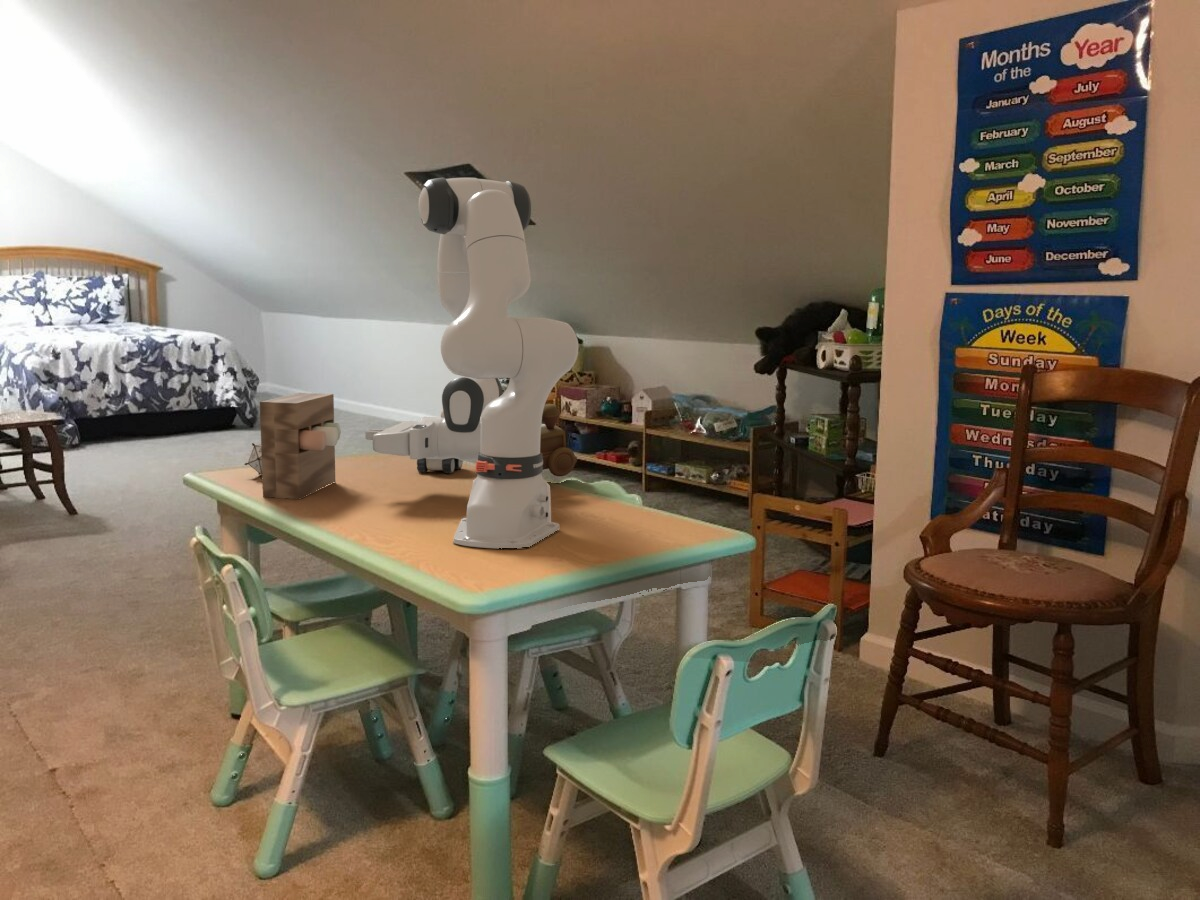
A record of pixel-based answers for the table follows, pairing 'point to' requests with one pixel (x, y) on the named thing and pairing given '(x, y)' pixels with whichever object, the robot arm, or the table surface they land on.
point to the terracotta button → (312, 440)
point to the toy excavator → (439, 462)
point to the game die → (256, 459)
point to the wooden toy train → (555, 444)
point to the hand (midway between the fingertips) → (367, 434)
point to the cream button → (328, 434)
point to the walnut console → (295, 445)
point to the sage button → (333, 426)
